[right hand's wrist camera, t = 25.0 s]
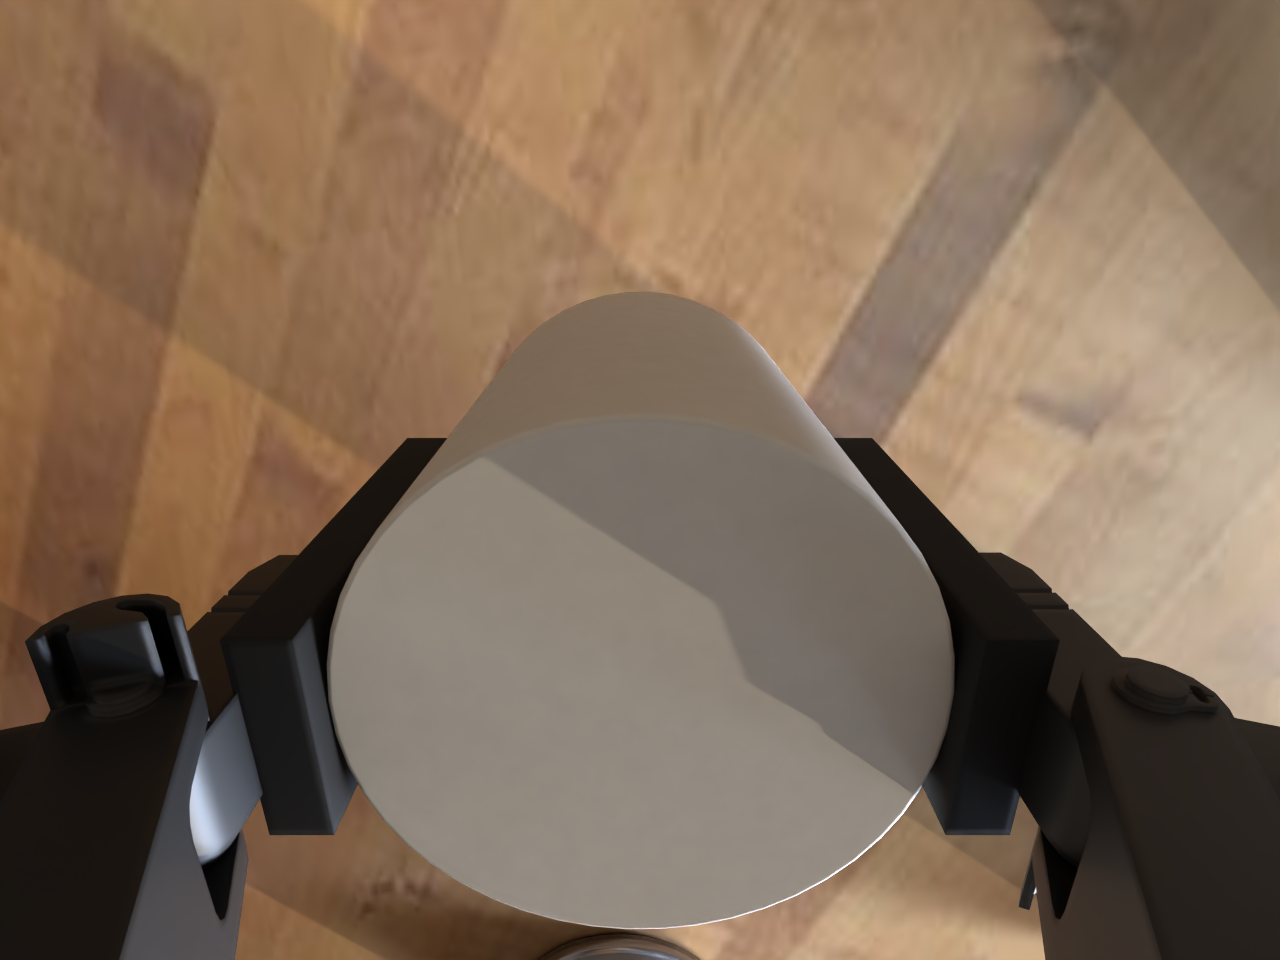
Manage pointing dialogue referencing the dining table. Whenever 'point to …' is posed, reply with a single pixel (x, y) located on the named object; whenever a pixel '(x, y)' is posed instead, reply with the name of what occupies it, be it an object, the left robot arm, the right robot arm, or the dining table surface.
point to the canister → (640, 634)
